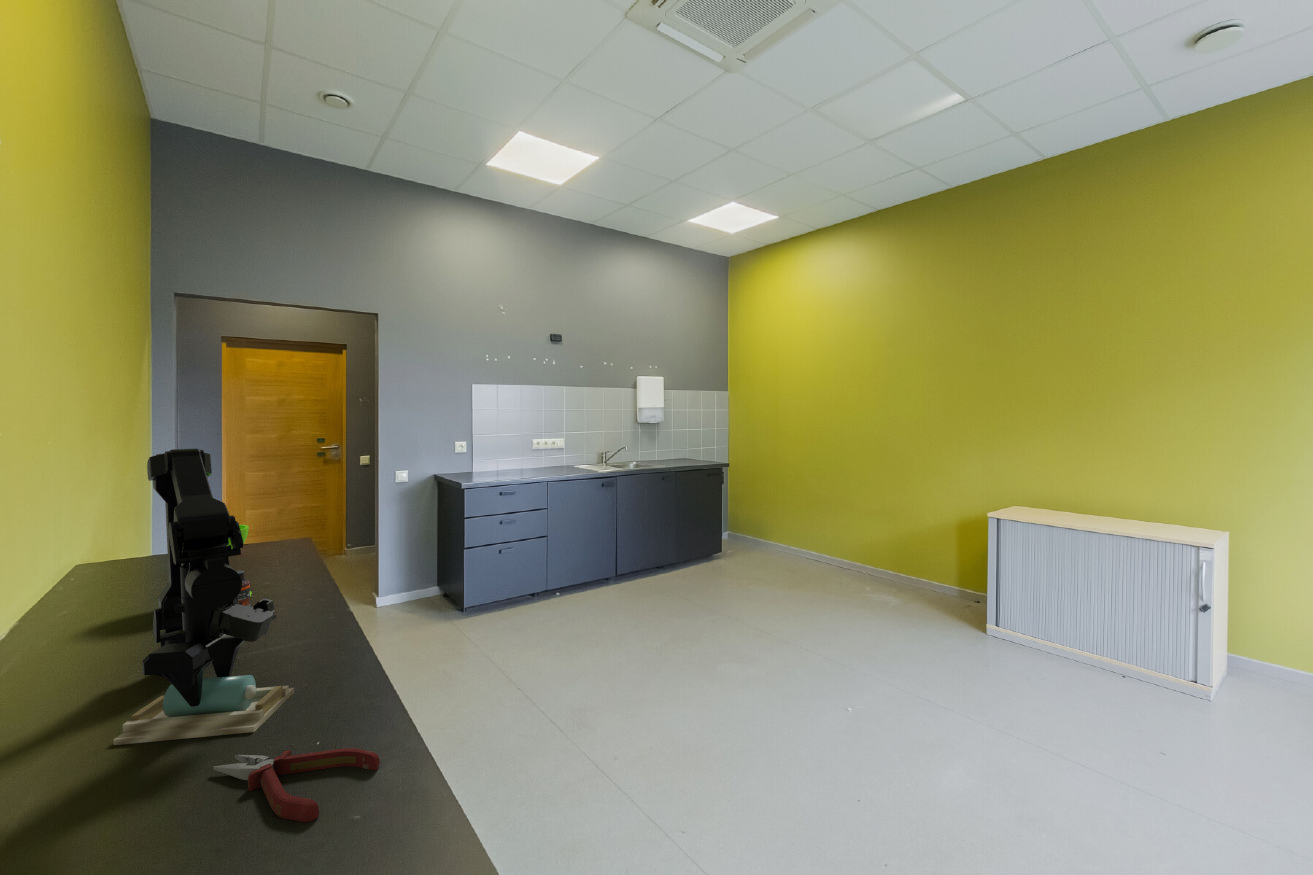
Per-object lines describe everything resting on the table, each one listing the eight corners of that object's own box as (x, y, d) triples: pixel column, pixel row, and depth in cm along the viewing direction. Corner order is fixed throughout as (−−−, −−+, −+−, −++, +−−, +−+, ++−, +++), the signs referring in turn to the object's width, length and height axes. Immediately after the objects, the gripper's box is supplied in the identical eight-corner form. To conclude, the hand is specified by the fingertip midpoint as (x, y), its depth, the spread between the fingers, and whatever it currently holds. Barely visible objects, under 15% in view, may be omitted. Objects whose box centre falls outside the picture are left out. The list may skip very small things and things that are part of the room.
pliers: (265, 746, 79) (264, 727, 79) (384, 768, 74) (384, 748, 74) (176, 800, 68) (175, 779, 68) (309, 830, 63) (307, 807, 63)
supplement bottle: (233, 627, 125) (231, 576, 125) (211, 625, 126) (209, 575, 126) (257, 617, 131) (255, 569, 131) (236, 616, 132) (234, 568, 132)
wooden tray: (113, 745, 79) (112, 726, 79) (172, 702, 91) (172, 687, 91) (254, 731, 82) (253, 714, 82) (294, 692, 94) (293, 677, 94)
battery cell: (163, 723, 83) (161, 690, 83) (186, 705, 88) (184, 674, 88) (244, 716, 85) (242, 683, 85) (262, 699, 90) (260, 668, 90)
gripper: (227, 609, 78) (232, 720, 79) (292, 573, 96) (296, 663, 97) (136, 615, 76) (142, 729, 77) (220, 577, 95) (224, 669, 95)
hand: (210, 694), depth 87 cm, fingers open, 7 cm apart
